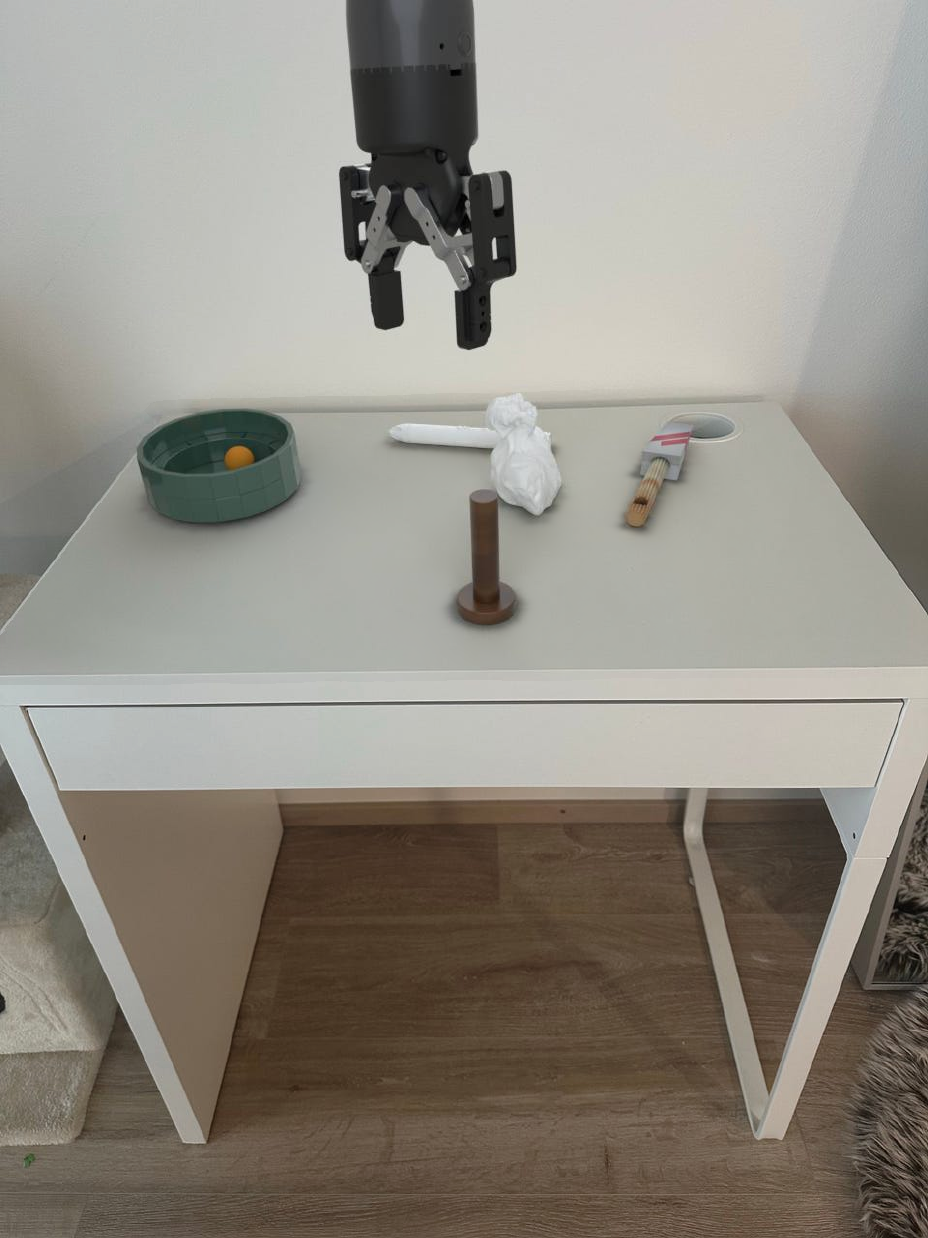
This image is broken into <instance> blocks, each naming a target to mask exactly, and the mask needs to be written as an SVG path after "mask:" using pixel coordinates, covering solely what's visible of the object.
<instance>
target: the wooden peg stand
mask: <svg viewBox="0 0 928 1238" xmlns="http://www.w3.org/2000/svg"><path fill="white" fill-rule="evenodd" d="M468 499H469V502H468V503H469V526H470V527H469V528H470V552H471V553H470V554H471V582H469V583H468V584H465V585H464V586H463V587H461V588H460V590H459V591H458V593H457V595H456V605H457V612H458V614H459V615H460V617H461V619H464V620H465V621H467V622H469V623H471V624H475V625H480V626H493V625H498V624H501V623H504V622H505V621H507V620H509V619H510V618H512V616H514V614H515V612H516V610H517V609H516V608H517V596H516V592H515V590H514V589H513V588H512V587H511V586H510V585H508V584H507V583H505V582H503V581H500V579H501V578H500V577H501V576H500V523H499V522H500V521H499V515H500V513H499V494H498V492H497V491H495V490H493V489H490V488H489V489H487V488H481V489H476V490H474V491H472V492H470V494H469V496H468Z"/></svg>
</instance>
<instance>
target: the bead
mask: <svg viewBox="0 0 928 1238" xmlns="http://www.w3.org/2000/svg"><path fill="white" fill-rule="evenodd" d="M254 463H255V460H254V456H253V454H252V452H251V451H250V450H249V449H247V448H246V447H243V446H235V447H233V448H231V449H230V450H229V451H228V452H227V453H226V455H225V465H226V468H227V469H228V470H235V469H238V468H241V467H244V466H248V465H251V464H254Z"/></svg>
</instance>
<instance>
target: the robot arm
mask: <svg viewBox="0 0 928 1238" xmlns="http://www.w3.org/2000/svg"><path fill="white" fill-rule="evenodd" d="M344 1H345V2H344V18H345V32H346V33H345V34H346V42H347V55H348V64H349V65H348V66H349V76H350V87H351V96H352V107H353V120H354V130H355V142H356V145H357V147H358V148H359V150H361V151H362V152H364V153H367V154H370V157H371V159H370V162H368V163H358V164H351V165H344V166H341V167H340V169H339V171H338V179H339V180H338V181H339V195H340V209H341V223H342V224H341V225H342V238H343V251H344V252H343V253H344V256H345V258H346V259H347V261H349V262H353V261H356V262H358V263H359V264H360V265H361V268H362V271H363V272H364V274H367V278H368V288H369V297H370V298H369V300H370V310H371V312H370V313H371V314H372V318H373V325H374V327H375V328H376V329H377V330H382V331H387V330H388V331H389V330H391V329H396V328H400V327H402V326H403V324H404V323H405V312H404V300H403V283H402V272H401V270H398V269H396V268H398V267H399V265H400V263H401V260H402V258H403V255H404V253H405V250H406V248H407V247H408V246H409V245H411V244H412V243H413V242H415V243H416V244H418V245H420V246H426V247H430V248H431V251H432V252H433V254H434V256H435V257H436V258H437V259H438V260H439V261H442V262H444V263H445V265H446V267H447V269H448V271H449V273H450V275H451V277H452V279H453V281H454V283H455V285H456V287H457V288H458V289H455V290H454V311H455V313H454V314H455V330H456V331H455V332H456V345H457V347H458V348H459V349H462V350H466V351H472V350H475V349H479V348H481V347H485V346H486V345H487V344H488V343H489V342H488V341H489V339H490V337H491V333H492V297H491V296H492V295H491V290H492V287H493V284H494V283H495V282H499V281H501V280H503V279H506V278H511V277H514V276H515V275H516V273H517V269H518V268H517V267H518V266H517V252H516V251H517V250H516V249H517V248H516V247H517V246H516V231H515V215H514V212H515V211H514V196H513V179H512V176H511V174H510V172H509V171H507V170H504V169H502V170H493V171H492V170H491V171H486V172H481V173H476V174H474V171H473V169H472V166H471V162H470V150H471V148H472V146H474V145H475V144H476V143H477V142H478V140H479V108H478V106H479V105H478V77H477V76H478V75H477V50H476V49H477V48H476V47H477V46H476V19H475V17H476V16H475V5H474V0H344ZM361 223H364V230H365V234H364V235H365V239H360V224H361ZM458 231H459V232H460V235H457V233H458ZM494 239H495V249H496V250H495V251H496V258H494V251H493V249H494V248H493V241H494ZM465 257H466V258H467V259H468V260H469V262H470V265H471V266H469V264H468V262H467V260H466V258H465Z"/></svg>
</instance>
